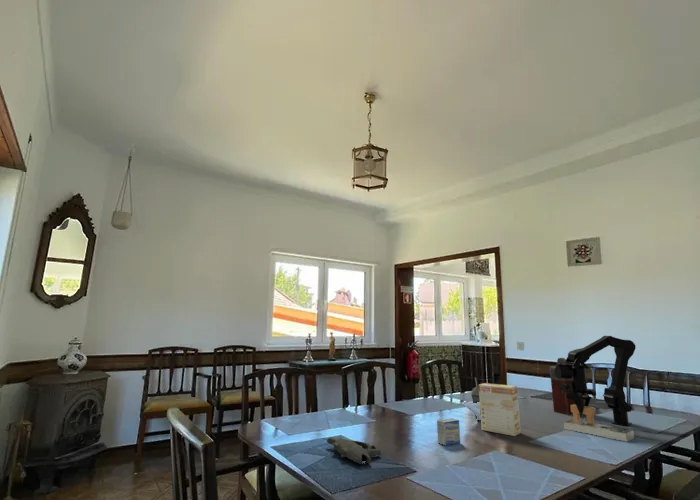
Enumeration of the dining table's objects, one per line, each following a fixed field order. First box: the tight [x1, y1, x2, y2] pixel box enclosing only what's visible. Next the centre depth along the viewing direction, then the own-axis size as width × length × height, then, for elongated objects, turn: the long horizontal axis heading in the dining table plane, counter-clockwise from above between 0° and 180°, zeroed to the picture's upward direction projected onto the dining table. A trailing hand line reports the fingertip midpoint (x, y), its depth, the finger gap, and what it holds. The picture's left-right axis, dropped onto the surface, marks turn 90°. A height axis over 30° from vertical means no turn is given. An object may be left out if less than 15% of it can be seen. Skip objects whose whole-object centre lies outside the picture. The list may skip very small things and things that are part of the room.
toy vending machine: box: [549, 357, 576, 416], centre depth 208 cm, size 9×11×28 cm
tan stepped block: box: [570, 405, 596, 423], centre depth 182 cm, size 4×9×6 cm, turn 37°
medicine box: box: [436, 418, 461, 447], centre depth 155 cm, size 8×4×9 cm, turn 117°
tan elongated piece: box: [326, 436, 382, 465], centre depth 142 cm, size 5×25×15 cm
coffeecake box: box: [478, 382, 522, 437], centre depth 172 cm, size 15×7×20 cm, turn 47°
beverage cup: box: [470, 377, 480, 420], centre depth 192 cm, size 7×7×20 cm
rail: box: [563, 418, 635, 443], centre depth 167 cm, size 8×24×3 cm, turn 37°
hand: (582, 413), depth 182 cm, fingers closed on tan stepped block, 3 cm apart
